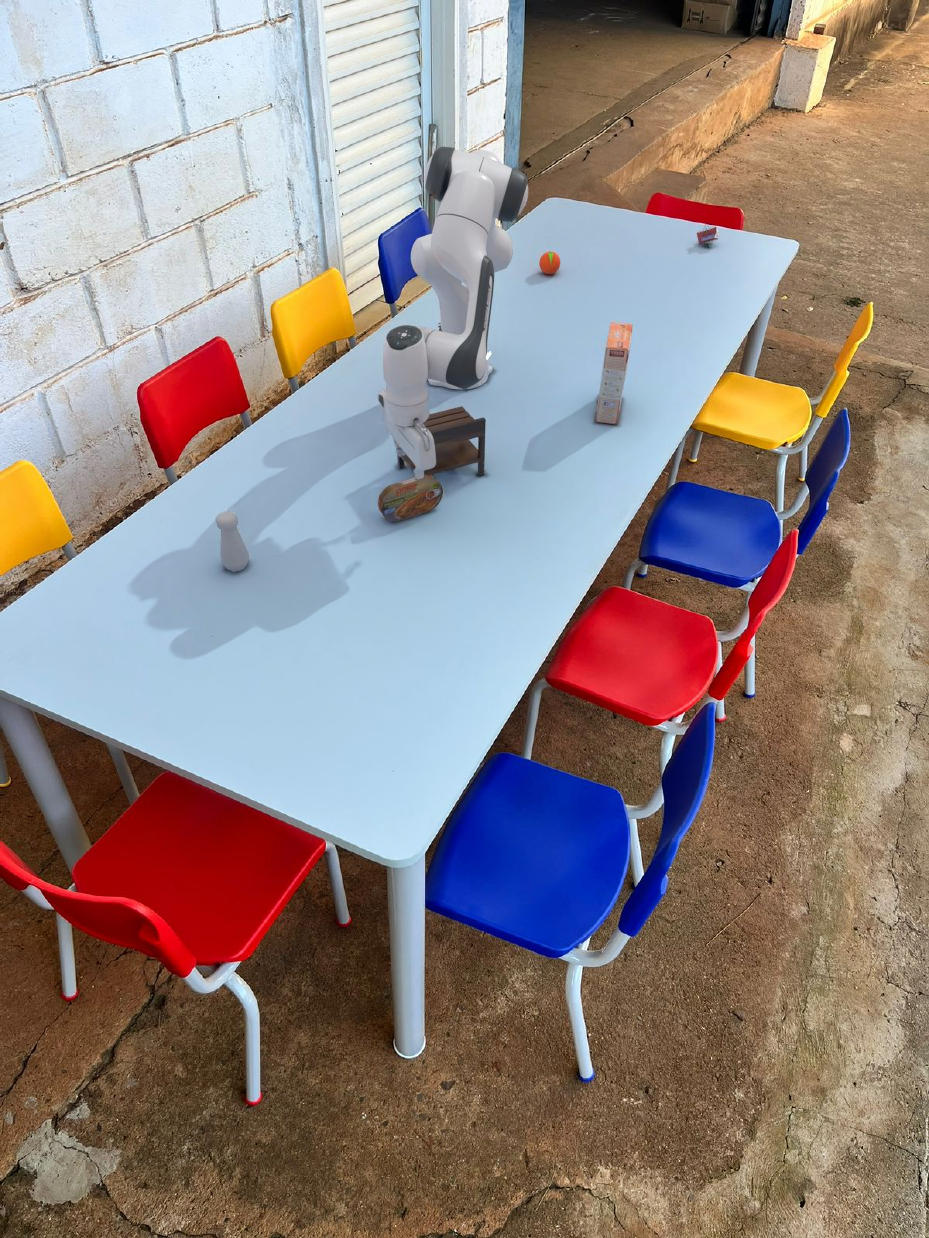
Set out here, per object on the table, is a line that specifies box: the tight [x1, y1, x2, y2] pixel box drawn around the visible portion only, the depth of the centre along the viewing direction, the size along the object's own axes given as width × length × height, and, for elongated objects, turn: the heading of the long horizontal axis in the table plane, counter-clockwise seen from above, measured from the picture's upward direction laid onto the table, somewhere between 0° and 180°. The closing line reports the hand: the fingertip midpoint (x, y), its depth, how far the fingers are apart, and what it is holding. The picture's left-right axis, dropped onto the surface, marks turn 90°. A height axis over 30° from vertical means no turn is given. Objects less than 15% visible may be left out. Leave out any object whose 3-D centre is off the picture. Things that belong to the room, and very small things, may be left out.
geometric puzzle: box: [696, 223, 720, 248], centre depth 310 cm, size 7×7×8 cm
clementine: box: [538, 251, 561, 275], centre depth 291 cm, size 8×7×7 cm
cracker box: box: [595, 321, 633, 426], centre depth 225 cm, size 14×6×21 cm, turn 168°
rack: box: [396, 406, 487, 477], centre depth 206 cm, size 12×17×15 cm
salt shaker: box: [215, 510, 250, 573], centre depth 181 cm, size 6×6×13 cm
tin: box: [377, 475, 444, 522], centre depth 197 cm, size 15×3×8 cm, turn 117°
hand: (409, 465), depth 191 cm, fingers open, 8 cm apart
